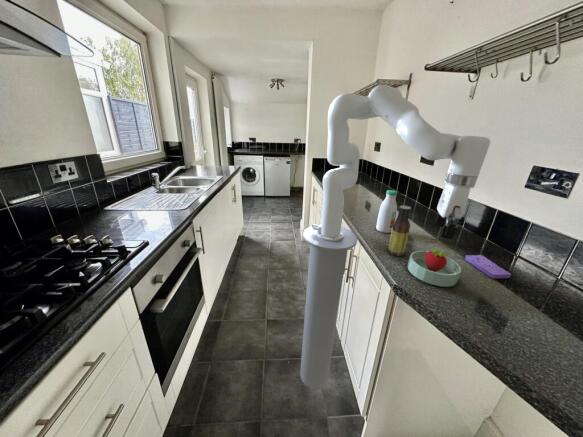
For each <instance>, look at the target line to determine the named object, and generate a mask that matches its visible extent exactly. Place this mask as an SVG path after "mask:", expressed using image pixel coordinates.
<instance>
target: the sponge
mask: <svg viewBox="0 0 583 437" xmlns="http://www.w3.org/2000/svg"><path fill="white" fill-rule="evenodd" d="M464 260H465V261H466V262H468V263H469V264H471V265H472V266H474V268H477V269H478V270H479V271H481V272H482V273H484V274H485V275H486V276H488V277H489V278H491V279H510V278H511V276H512V273H510V272H509V271H507V270H505V269H504V268H502V267H500V266H499V265H497V264H496V263H495V262H493V261H492V260H490V259H488V258H487V257H486V256H484V255H482V254H476V255H469V254H468V255H467V254H466V255H465V258H464Z"/></svg>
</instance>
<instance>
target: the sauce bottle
mask: <svg viewBox="0 0 583 437" xmlns="http://www.w3.org/2000/svg"><path fill="white" fill-rule="evenodd" d="M411 211H412V207H411V206H408V205H400V206H398V214H397V217H396V218H395V222H394V224H393V226H392V232H390V237H389V243H388V252H389V253H390V254H391V255H393V256H395V257H396V256H397V257H402V256H404V255H405V253H406V248H407V244H408V239H409V235H410V228H411V222H410V220H409V218H410V213H411Z"/></svg>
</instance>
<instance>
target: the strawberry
mask: <svg viewBox="0 0 583 437" xmlns="http://www.w3.org/2000/svg"><path fill="white" fill-rule="evenodd" d="M442 249H443V247H441V248H439V250H438V249H433V248H431V250H428V251H429V252H427V253H426V254H425V262H426V265H427V268H428V270H430V271H433V272H437V271H439V270H441V269H443V268H444V267H445V265H446V263H447V260H446V258H445V257H447V256H446V255H447V253H446V252H443V251H442V252H440V251H441V250H442Z"/></svg>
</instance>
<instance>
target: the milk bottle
mask: <svg viewBox="0 0 583 437" xmlns="http://www.w3.org/2000/svg"><path fill="white" fill-rule="evenodd" d="M397 195H398V191H396V190H393V189H387V190H386V194H385V198H384V200H383V201H382V202H381V204H380V207H379V210H378V216H377V221H376V227H375V228H376V229H375V230H376V231H379V232H380V233H385V234H391V232H392V226H393V224H394V223H395V221H396V218H397V217H396V216H397V211H398V204H397V201H396V197H397Z"/></svg>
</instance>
